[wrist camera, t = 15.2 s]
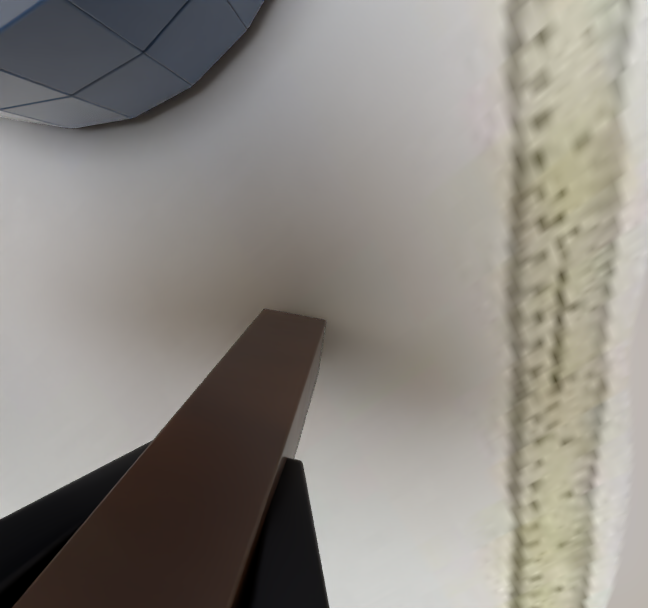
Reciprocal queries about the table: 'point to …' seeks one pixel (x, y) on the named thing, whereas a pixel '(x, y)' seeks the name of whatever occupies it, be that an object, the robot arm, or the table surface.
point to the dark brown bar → (197, 486)
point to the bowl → (109, 55)
